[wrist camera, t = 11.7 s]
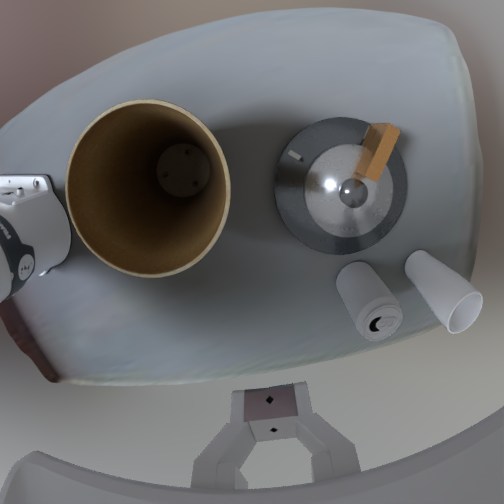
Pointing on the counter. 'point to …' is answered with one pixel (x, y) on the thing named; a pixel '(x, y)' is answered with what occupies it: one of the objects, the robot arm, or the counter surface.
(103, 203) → the plant pot
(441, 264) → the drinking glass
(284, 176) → the dial plate
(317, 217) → the dial
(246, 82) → the counter surface
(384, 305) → the beverage can
